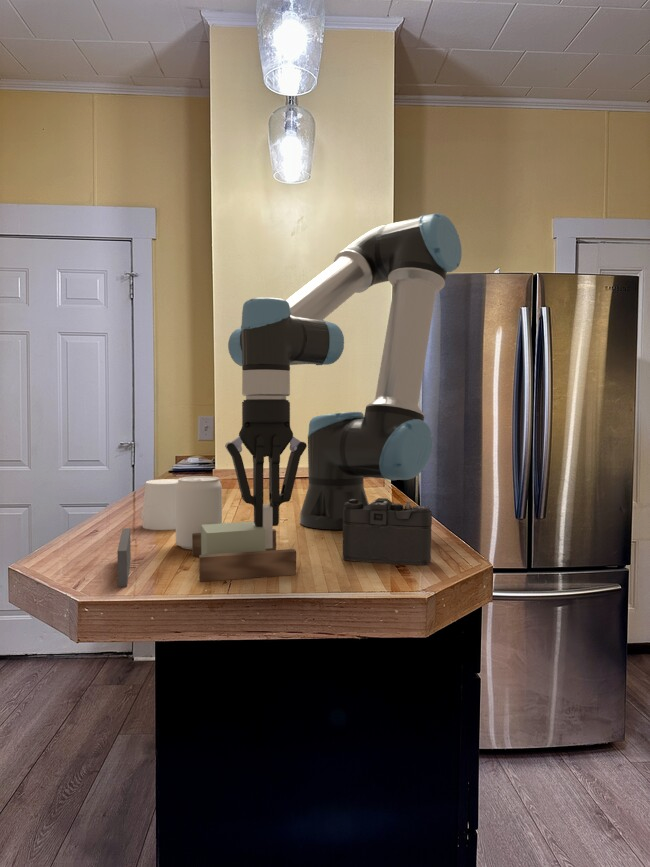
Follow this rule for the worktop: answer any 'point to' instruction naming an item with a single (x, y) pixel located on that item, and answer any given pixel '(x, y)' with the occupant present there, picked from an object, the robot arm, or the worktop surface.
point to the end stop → (124, 557)
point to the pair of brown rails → (244, 562)
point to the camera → (387, 532)
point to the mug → (159, 505)
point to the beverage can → (196, 506)
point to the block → (232, 538)
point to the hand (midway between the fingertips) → (266, 546)
